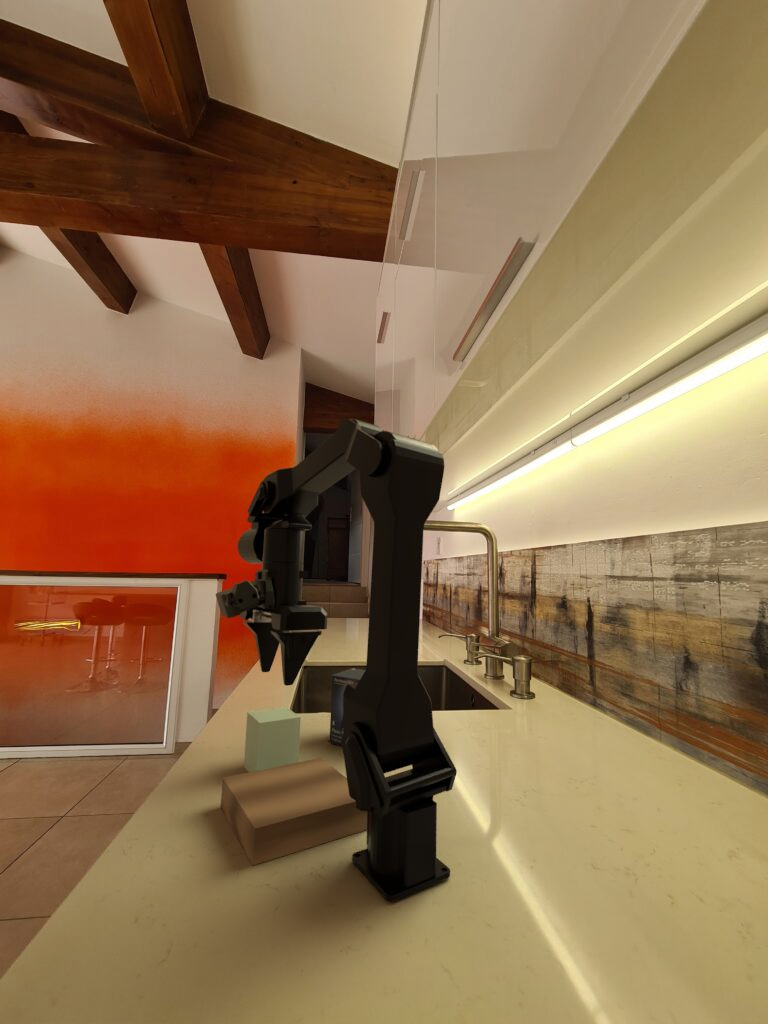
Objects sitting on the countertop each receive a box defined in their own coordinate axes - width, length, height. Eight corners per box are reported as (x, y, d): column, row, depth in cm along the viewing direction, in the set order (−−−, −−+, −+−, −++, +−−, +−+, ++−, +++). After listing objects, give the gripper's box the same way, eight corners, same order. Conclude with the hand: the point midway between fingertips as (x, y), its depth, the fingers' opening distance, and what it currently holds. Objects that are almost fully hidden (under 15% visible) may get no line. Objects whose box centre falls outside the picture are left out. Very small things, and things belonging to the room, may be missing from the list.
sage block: (297, 773, 59) (300, 717, 60) (256, 782, 56) (259, 723, 57) (282, 759, 64) (285, 706, 65) (243, 766, 61) (247, 711, 62)
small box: (326, 744, 70) (329, 673, 71) (348, 732, 75) (351, 667, 77) (387, 758, 65) (389, 682, 66) (406, 744, 71) (407, 674, 72)
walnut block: (369, 829, 46) (370, 797, 47) (252, 865, 40) (254, 828, 40) (320, 783, 56) (321, 757, 57) (220, 806, 50) (222, 777, 50)
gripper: (209, 562, 68) (200, 670, 65) (244, 558, 52) (233, 701, 50) (281, 565, 74) (275, 664, 71) (331, 562, 58) (326, 690, 56)
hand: (276, 678), depth 62 cm, fingers open, 9 cm apart
